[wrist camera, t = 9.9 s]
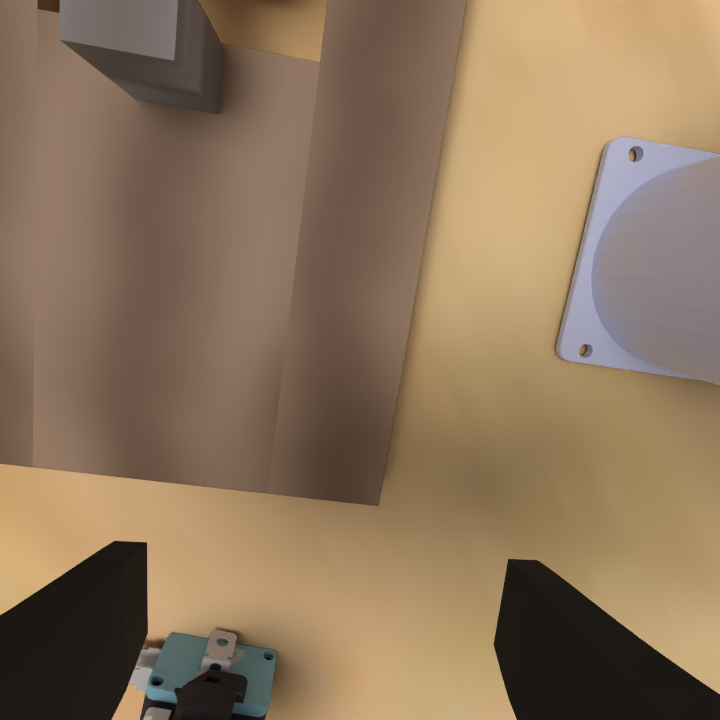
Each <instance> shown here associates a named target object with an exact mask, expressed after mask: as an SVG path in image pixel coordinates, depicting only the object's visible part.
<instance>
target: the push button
mask: <svg viewBox="0 0 720 720" xmlns="http://www.w3.org/2000/svg"><path fill="white" fill-rule="evenodd" d="M220 638H224V639H226V640H227V641H228V642H224V641H218V639H220ZM236 640H237V636H236V635H235V634H234V633H230V632H225V631H219V630H215V631H213V632H212V633H211V636H210V639H207V638H201V637H196V636H190V635H185V634H179V633H173V634H170V635H169V636H168V637H167V639H166V641H165V643H164V645H163V648H162V649H159V648H153V647H149V649H148V650H147V649H142V650H141V653H140V655H139V658H138V661H137V663H136V665H137V666H140V668H135V669H134V671H133V674H132V676H131V679H130V681H129V684H128V685H133V686H136V688H135V689H138V690H144V691H146V694H145V698H144V703H143V708H142V713H141V717H140V720H265V717H266V714H267V710H268V706H269V703H270V698H271V691H272V684H273V677H274V670H275V664H276V657H277V656H276V653H275V652H274V651H273V650H271V649H266V648H257V647H252V646H246V645H240V644H236Z"/></svg>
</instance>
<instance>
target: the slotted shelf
mask: <svg viewBox="0 0 720 720" xmlns="http://www.w3.org/2000/svg"><path fill="white" fill-rule="evenodd" d="M466 2H467V0H328V1H327V10H326V18H325V26H324V34H323V43H322V51H321V59H320V62H316V61H311V60H305V59H300V58H295V57H289V56H284V55H279V54H274V53H268V52H263V51H258V50H252V49H247V48H242V47H236V46H231V45H226V44H222V43H221V42H220V40H219V38H218V36H217V34H216V32H215V30H214V28H213V27H212V25H211V23H210V21H209V19H208V17H207V15H206V13H205V12H204V10H203V8H202V6H201V4H200V2H199V0H0V464H8V465H17V466H26V467H35V468H44V469H53V470H61V471H70V472H79V473H88V474H97V475H106V476H115V477H124V478H133V479H142V480H151V481H160V482H168V483H177V484H186V485H195V486H204V487H213V488H222V489H231V490H240V491H249V492H258V493H267V494H275V495H284V496H293V497H302V498H311V499H320V500H329V501H338V502H347V503H356V504H365V505H374V506H379V500H380V494H381V489H382V483H383V477H384V471H385V466H386V460H387V454H388V449H389V443H390V437H391V431H392V426H393V420H394V414H395V409H396V403H397V397H398V391H399V386H400V380H401V374H402V368H403V363H404V357H405V351H406V346H407V340H408V334H409V328H410V323H411V317H412V311H413V306H414V300H415V294H416V288H417V283H418V277H419V271H420V265H421V260H422V254H423V248H424V243H425V237H426V231H427V225H428V220H429V214H430V208H431V203H432V197H433V191H434V185H435V180H436V174H437V168H438V163H439V157H440V151H441V145H442V140H443V134H444V128H445V122H446V117H447V111H448V105H449V100H450V94H451V88H452V82H453V77H454V71H455V65H456V60H457V54H458V48H459V42H460V37H461V31H462V25H463V19H464V14H465V8H466Z"/></svg>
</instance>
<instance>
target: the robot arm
mask: <svg viewBox="0 0 720 720" xmlns="http://www.w3.org/2000/svg"><path fill="white" fill-rule="evenodd" d="M630 149H633V150H635V152H636V159H635V161H634V162H633V161H631V160H630V159H629V151H630ZM584 344H586V345H587V351H586V353H585V354H583V355H580V354H579V349H580V347H581V346H582V345H584ZM556 352H557V354H558V356H559V357H560V358H562V359H564V360H566V361H569V362H575V363H582V364H589V365H596V366H603V367H610V368H617V369H624V370H632V371H639V372H646V373H653V374H660V375H667V376H674V377H681V378H688V379H695V380H702V381H707V382H710V383H713V384H716V385H719V386H720V154H717V153H712V152H707V151H701V150H696V149H690V148H685V147H680V146H674V145H669V144H663V143H658V142H653V141H647V140H642V139H636V138H631V137H626V136H624V137H618V138H615V139H613V140H611V141H609V142H608V144H607V145H606V146H605V148H604V150H603V154H602V158H601V162H600V166H599V170H598V174H597V179H596V183H595V187H594V191H593V195H592V199H591V204H590V208H589V212H588V216H587V220H586V224H585V228H584V233H583V237H582V241H581V245H580V249H579V253H578V257H577V262H576V266H575V270H574V274H573V278H572V282H571V287H570V291H569V295H568V299H567V303H566V307H565V311H564V316H563V320H562V324H561V328H560V332H559V336H558V340H557V345H556ZM147 634H148V615H147V543H146V542H124V541H114V542H112V543H111V544H109V545H107V546H106V547H104V548H102V549H101V550H99V551H98V552H96V553H95V554H93V555H92V556H90V557H89V558H87V559H86V560H84V561H83V562H81V563H80V564H78V565H77V566H75V567H74V568H72V569H71V570H69V571H68V572H66V573H65V574H63V575H62V576H60V577H59V578H57V579H56V580H54V581H53V582H51V583H50V584H48V585H47V586H45V587H44V588H42V589H40V590H39V591H37V592H36V593H34V594H33V595H31V596H30V597H28V598H27V599H25V600H24V601H22V602H21V603H19V604H18V605H16V606H15V607H13V608H11V609H10V610H8V611H7V612H5V613H3V614H2V615H0V720H111V719H112V717H113V715H114V713H115V711H116V709H117V707H118V705H119V703H120V701H121V699H122V697H123V695H124V693H125V691H126V689H127V686H128V684H129V681H130V679H131V676H132V674H133V671H134V669H135V666H136V663H137V661H138V658H139V655H140V653H141V650H142V647H143V644H144V642H145V639H146V636H147ZM494 647H495V651H496V655H497V659H498V662H499V666H500V670H501V674H502V677H503V680H504V684H505V687H506V691H507V694H508V697H509V700H510V703H511V706H512V708H513V711H514V713H515V716H516V718H517V720H720V694H718V693H717V692H715V691H714V690H712V689H711V688H709V687H708V686H706V685H705V684H703V683H702V682H700V681H699V680H697V679H696V678H695V677H693V676H692V675H690V674H689V673H687V672H686V671H685V670H683V669H682V668H680V667H679V666H678V665H676V664H675V663H673V662H672V661H670V660H669V659H668V658H666V657H665V656H663V655H662V654H660V653H659V652H658V651H656V650H655V649H654V648H652V647H651V646H650V645H648V644H647V643H646V642H644V641H643V640H641V639H640V638H639V637H637V636H636V635H635V634H633V633H632V632H631V631H629V630H628V629H627V628H626V627H624V626H623V625H622V624H620V623H619V622H618V621H616V620H615V619H614V618H612V617H611V616H610V615H609V614H607V613H606V612H605V611H603V610H602V609H601V608H600V607H598V606H597V605H596V604H595V603H593V602H592V601H591V600H589V599H588V598H587V597H586V596H584V595H583V594H582V593H580V592H579V591H578V590H577V589H575V588H574V587H573V586H572V585H570V584H569V583H568V582H566V581H565V580H564V579H562V578H561V577H560V576H559V575H557V574H556V573H555V572H553V571H552V570H551V569H549V568H548V567H546V566H545V565H543V564H542V563H541V562H539V561H538V560H517V559H508V565H507V570H506V576H505V582H504V588H503V594H502V600H501V605H500V611H499V617H498V623H497V629H496V634H495V640H494Z"/></svg>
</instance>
